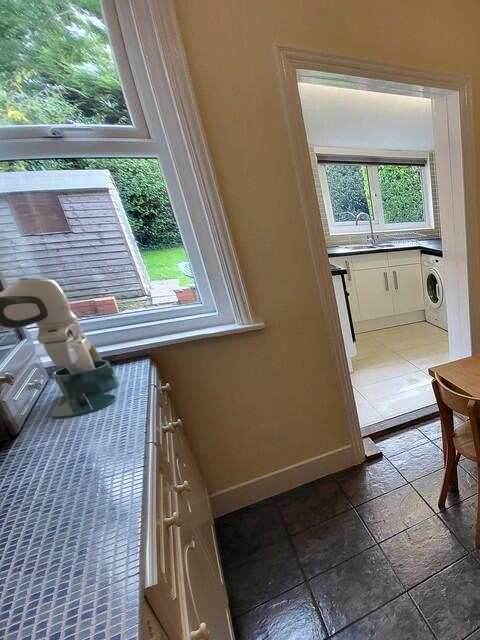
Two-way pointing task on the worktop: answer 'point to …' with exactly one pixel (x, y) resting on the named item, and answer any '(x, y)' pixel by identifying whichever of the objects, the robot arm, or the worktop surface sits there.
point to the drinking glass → (83, 358)
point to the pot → (86, 380)
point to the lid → (83, 405)
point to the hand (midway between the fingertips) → (82, 370)
